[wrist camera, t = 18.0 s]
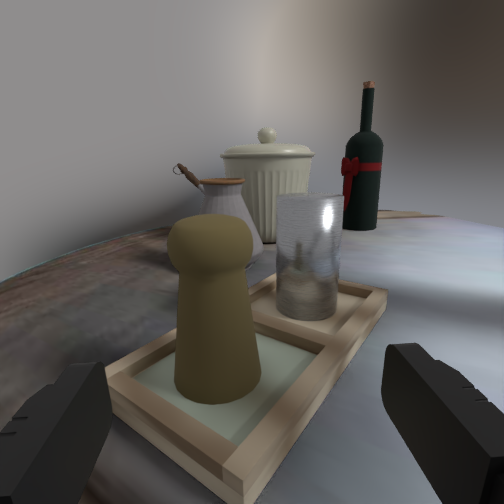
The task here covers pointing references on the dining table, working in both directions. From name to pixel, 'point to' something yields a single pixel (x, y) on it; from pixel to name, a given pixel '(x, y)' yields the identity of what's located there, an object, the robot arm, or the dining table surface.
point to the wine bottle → (362, 170)
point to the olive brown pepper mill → (213, 309)
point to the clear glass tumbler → (308, 254)
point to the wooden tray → (254, 403)
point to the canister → (268, 176)
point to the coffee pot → (226, 203)
